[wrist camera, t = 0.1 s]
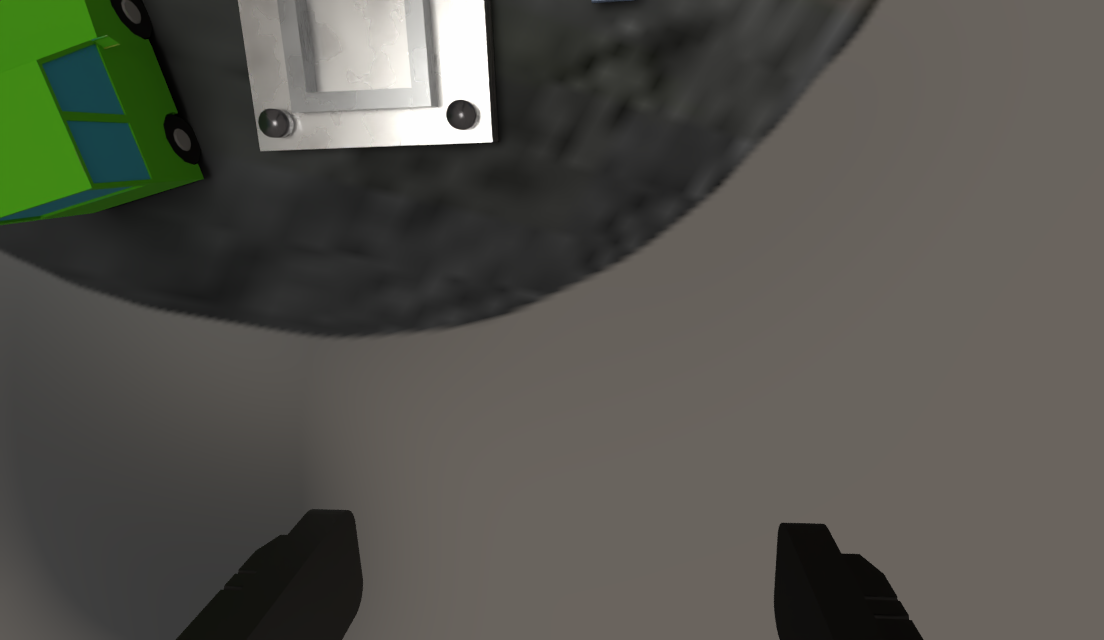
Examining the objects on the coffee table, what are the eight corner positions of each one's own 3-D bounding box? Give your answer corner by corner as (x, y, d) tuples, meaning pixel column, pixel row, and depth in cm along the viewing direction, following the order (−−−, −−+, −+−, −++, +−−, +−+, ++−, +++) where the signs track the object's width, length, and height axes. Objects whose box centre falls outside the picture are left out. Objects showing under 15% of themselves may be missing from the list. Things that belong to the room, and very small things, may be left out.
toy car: (143, -50, 38) (-17, -114, 29) (229, 173, 41) (109, 182, 32) (3, 5, 40) (-194, -39, 30) (95, 214, 43) (-57, 235, 33)
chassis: (241, -105, 37) (203, -129, 33) (483, -126, 35) (469, -153, 32) (277, 150, 40) (247, 151, 37) (498, 142, 39) (487, 141, 35)
